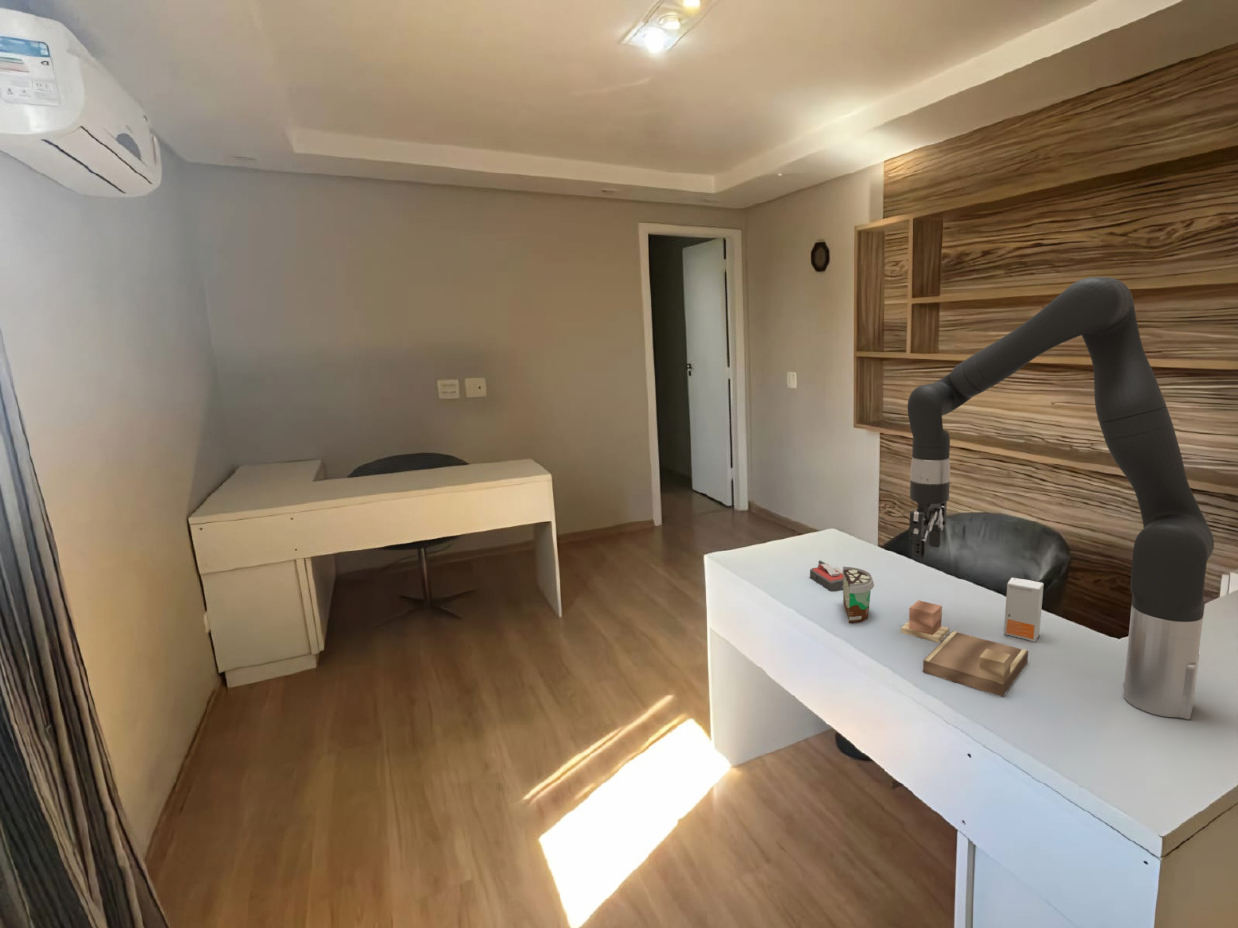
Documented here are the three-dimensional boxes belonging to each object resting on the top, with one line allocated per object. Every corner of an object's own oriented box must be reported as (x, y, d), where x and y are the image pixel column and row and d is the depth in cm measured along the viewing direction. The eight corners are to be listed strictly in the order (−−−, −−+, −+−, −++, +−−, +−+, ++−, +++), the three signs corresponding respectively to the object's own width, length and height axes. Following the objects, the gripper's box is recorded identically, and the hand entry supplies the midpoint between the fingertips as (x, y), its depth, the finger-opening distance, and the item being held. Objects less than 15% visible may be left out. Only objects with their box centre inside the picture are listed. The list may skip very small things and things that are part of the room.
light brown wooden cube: (1010, 674, 119) (1010, 654, 118) (1003, 683, 116) (1003, 662, 115) (986, 668, 122) (986, 648, 121) (979, 676, 119) (979, 656, 118)
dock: (1027, 662, 127) (1028, 650, 127) (1002, 696, 116) (1003, 683, 116) (952, 641, 137) (952, 630, 137) (922, 671, 126) (923, 659, 126)
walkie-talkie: (863, 590, 168) (822, 565, 187) (863, 574, 167) (822, 551, 186) (833, 595, 166) (795, 569, 185) (833, 579, 165) (795, 555, 184)
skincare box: (1003, 634, 139) (1006, 582, 136) (1008, 627, 142) (1011, 576, 140) (1036, 642, 135) (1039, 588, 132) (1040, 635, 138) (1044, 582, 135)
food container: (878, 626, 146) (878, 585, 144) (849, 625, 148) (850, 584, 146) (868, 604, 158) (869, 565, 156) (842, 603, 159) (842, 565, 157)
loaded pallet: (949, 633, 141) (950, 606, 140) (938, 643, 137) (939, 616, 136) (911, 623, 147) (912, 597, 146) (901, 632, 143) (901, 606, 142)
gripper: (935, 487, 128) (933, 564, 131) (960, 473, 138) (957, 546, 141) (897, 483, 133) (896, 557, 136) (924, 470, 143) (922, 539, 146)
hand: (927, 551), depth 139 cm, fingers open, 8 cm apart
